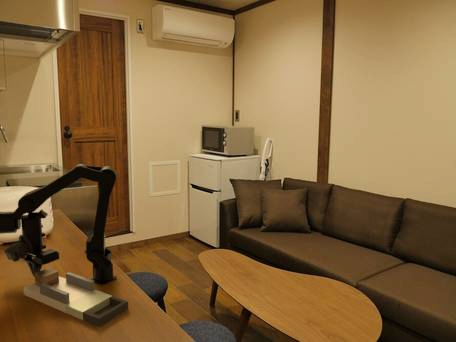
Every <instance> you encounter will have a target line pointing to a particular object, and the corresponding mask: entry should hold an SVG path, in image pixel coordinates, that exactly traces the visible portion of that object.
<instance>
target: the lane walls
mask: <svg viewBox="0 0 456 342" xmlns="http://www.w3.org/2000/svg"><path fill="white" fill-rule="evenodd" d="M65 279H66V282H67V283H70V284H73V285H75V286H78V287H81V288H83V289H86V290H89V291H91V292H92V291H94V290H96V289H95V283H94V281H93V280H90V279H91V278H88V277H84V276H81V275H78V274H75V273H73V272H69V271H68V272H66V273H65ZM40 294H42V295H45V296H47V297H49V298H52V299H54V300H57V301H59V302H61V303H64V304H68V303H70V301H69V293H67V292H65V291H62V290H60V289H57V288H55V287H52V286H50V285H47V284H44V283H42V284H40Z"/></svg>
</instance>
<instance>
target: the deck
mask: <svg viewBox="0 0 456 342" xmlns="http://www.w3.org/2000/svg"><path fill="white" fill-rule="evenodd" d="M52 287H55V288H57V289H60V290H62V291H65V292H67V293H69V301H70V303H68V304H64V303H61V302H59V301H57V300H54V299H52V298H49V297H47V296H45V295H42V294H40V287H39V286H37V285H35V282H34V283H30V284H29V285H26V286H24V287H23V295H24V296H26V297H28V298H30V299H32V300H35V301H37V302H40V303H42V304H45V305H47V306H49V307H50V308H54V309H56V310H58V311H61V312H63V313H65V314H67V315H70V316H72V317H74V318H77V319H79V320H81V321H83V312H84V311H86V310H87V311H89V312H91V313H95V312H97V311H99V310H100V309H102V308H104V307H106V306H107V305H109V304H110V300H109V297H111V296H112V295H111V294H108V293H106V292H103V291H100V290H98V289H95V290H94V291H92V292H91V291H89V290H86V289H83V288H81V287H78V286H75V285H73V284H70V283H67V282H66V277H62V276H60V275H59V283H57V284H55V285H53V286H52Z"/></svg>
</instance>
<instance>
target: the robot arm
mask: <svg viewBox="0 0 456 342" xmlns="http://www.w3.org/2000/svg"><path fill="white" fill-rule="evenodd" d="M117 173H118V171H117V170H116V169H115V168H114V167H113V166H110V165H106V166H96V165H88V164H83V163H79V164H76V165H75V167H74V168H72V169H71V170H68V171H67V172H66V173H63V174H62V175H60V176H59V177H57V178H56V179H54V180H52V181H50V182H49V183H48V184H45V185H44V186H41V187H37V188H35V189H32V190H30V191H28V192H26V193H24V195H22V196H21V197H20V198H19V199H18V201H17V208H16V209H15V210H14V211H7V212H6V211H0V234H1V235H2V234H14V233H17V232H18V230H21V234H20V235H19V237H18V241H17V242H14V243H11V244H10V245H9V247H7V248H6V249H4V250H3V252H4V254H5V257H6V258H7V260H10V261H12V262H19V261H20V260H22V261H24V262H26V264H27V266H28V268H29V271H30V273H31V274H32V277H33V278H35V273H36V272H39V271H41V270H42V268H43V265H47V264H50V263H53V262H54V261H55V262H56V261H58V260H60V252H58V250H56V249H51V248H48V249H46V248H47V245H46V244H44V240H43V237H46V233H45V232H43V228H42V225H43V224H42V219H46V218H47V216H48V213H47V212H46V211H45V210H43V208H42V209H40V210H39V211H36V210H38V209H39V208H40V207H41V206H42V205H43V204H44V203H45V202H46V201H48V199H50V198H51V197H52V196H54V195H55V194H57V193H59V192H61V191H62V190H64V189H65V188H67V187H68V186H70V185H72V184H74V183H76V181H78V180H80V179H85V180H88V181H90V182H91V181H92V182H96V183H97V187H98V199H97V206H96V212H95V218H94V226H93V232H92V235H87V236H86V237H87V238H86V241H85V249H84V254H86V259H87V261H88V262H90V263H91V264H92V278H89V279H90V280H93V281H94V284H97V285H100V286H105V285H106V284H108V283H110V282H113V281H115V280H117V276H115V275H114V264H113V262H112V255H113V252H112V251H111V250H109V249H108V248H107V247H106V236H105V235H106V234H105V233H106V224H107V219H108V211H109V208H110V207H109V205H110V198H111V195H112V192H113V190H114V187H115V184H116V181H117V175H118V174H117ZM45 249H46V250H45Z"/></svg>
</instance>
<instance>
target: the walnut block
mask: <svg viewBox="0 0 456 342" xmlns="http://www.w3.org/2000/svg"><path fill="white" fill-rule="evenodd" d="M59 276H60V274H59V270H56V269H53V268H51V267H47V268H44V269H41V270H40V271H39V272H36V273H35V277H34V283H35V285H37V286H39V287H40V284H42V283H44V284H47V285H50V286H53V285H55V284H57V283H59Z"/></svg>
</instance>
